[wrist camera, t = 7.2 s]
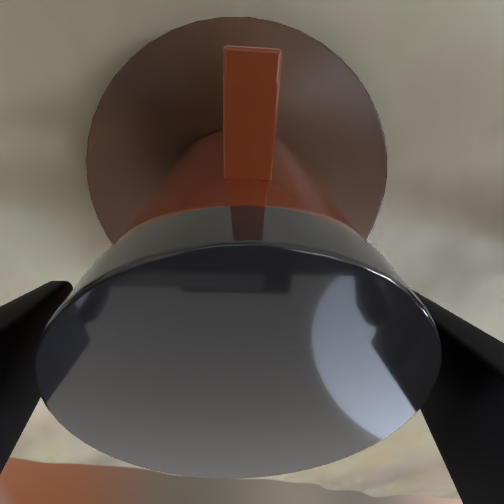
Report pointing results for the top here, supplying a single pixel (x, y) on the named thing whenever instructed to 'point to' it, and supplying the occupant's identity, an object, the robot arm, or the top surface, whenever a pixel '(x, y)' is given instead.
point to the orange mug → (238, 315)
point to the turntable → (211, 118)
